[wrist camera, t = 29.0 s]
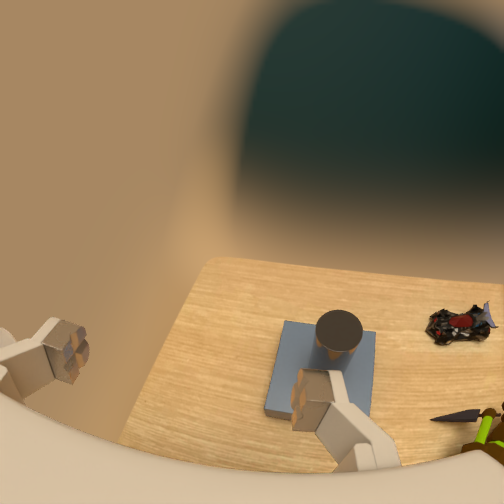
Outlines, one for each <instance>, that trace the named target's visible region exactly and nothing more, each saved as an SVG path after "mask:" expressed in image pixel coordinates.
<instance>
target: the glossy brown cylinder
mask: <svg viewBox="0 0 504 504" xmlns="http://www.w3.org/2000/svg"><path fill="white" fill-rule="evenodd" d="M362 336H363V328H362V325H361V323H360V321H359V319H358V318H357V317H356V316H355V315H353V314H352V313H350V312H347V311H344V310H333V311H329V312H327V313H325V314H324V315H322V316H321V317H320V319H319V320H318V322H317V324H316V328H315V334H314V339H313V344H312V349H311V354H310V359H309V364H308V369H318V370H336V371H341V372H342V375H343V376H344V374H345V372H346V370H347V368H348V366H349V364H350V362H351V360H352V358H353V356H354V354H355V352H356V350H357V348H358V346H359V343H360V341H361V339H362Z"/></svg>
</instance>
